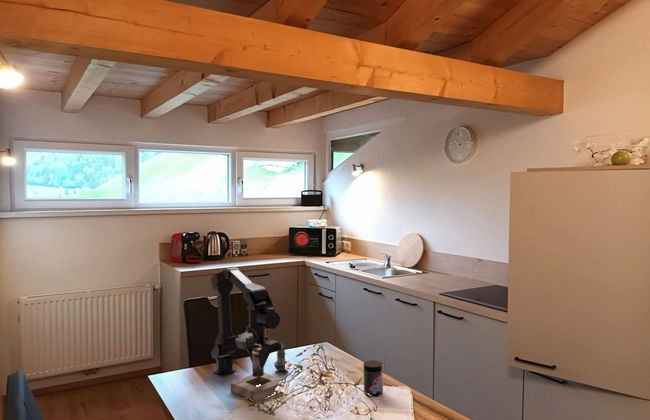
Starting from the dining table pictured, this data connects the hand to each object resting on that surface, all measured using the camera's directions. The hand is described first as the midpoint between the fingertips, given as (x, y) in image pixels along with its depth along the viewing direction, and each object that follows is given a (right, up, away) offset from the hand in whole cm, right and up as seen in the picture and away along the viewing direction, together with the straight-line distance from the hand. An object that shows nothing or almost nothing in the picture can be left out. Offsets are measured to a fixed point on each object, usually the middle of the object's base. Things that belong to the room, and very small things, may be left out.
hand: (258, 366), depth 171 cm
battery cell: (0, -3, 0) cm, 3 cm away
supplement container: (+41, -9, -3) cm, 42 cm away
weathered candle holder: (+7, -9, +18) cm, 21 cm away
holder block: (0, -9, 0) cm, 9 cm away
